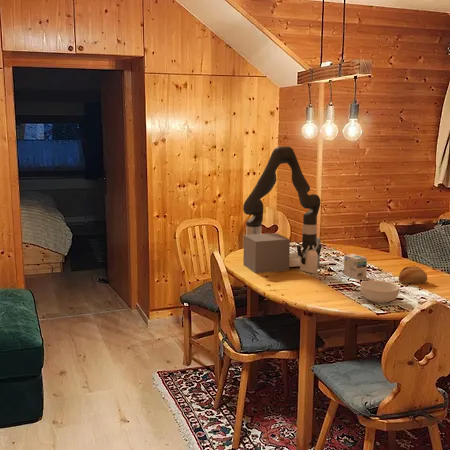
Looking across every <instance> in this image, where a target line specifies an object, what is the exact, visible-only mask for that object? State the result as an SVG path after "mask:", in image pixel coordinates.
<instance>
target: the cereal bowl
mask: <svg viewBox="0 0 450 450" xmlns="http://www.w3.org/2000/svg"><path fill="white" fill-rule="evenodd" d="M359 288H360V294H361V295H362V296H363V297H364V298H365V299H367V300H369V301H370V302H372V303H375V304H386V303H389V302H393V301H394V300H396V299H397V298H398V296H399V293H400V286H399V285H397V284H395V283H392V282H389V281H385V280H375V279H374V280H365V281H362V282H361V283H360V286H359Z"/></svg>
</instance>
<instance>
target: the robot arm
mask: <svg viewBox="0 0 450 450" xmlns="http://www.w3.org/2000/svg"><path fill="white" fill-rule="evenodd" d="M282 164H283V165H285V164H287V165H288V166H289V168H290V170H291V183H292V185H293V187H294V189H295V190H296V192H297V196H298V199H299V204H300V205H301V207H302V208H303V209H306V210H307V209H308V210H307V212H305V213H303V217H302V223H303V224H302V230H301V231H302V236H301V237H302V238H301V241H302V242H301V244H297V245H296V252H298V256H300V257H301V262H302V264H305V256H306V254H307V252H308V251H309V250H314V251H315V247H316V246H317V249H316V252H317V254H318V255H320V256H321V251H322V244H321V243H320V244H319V243H318V244H317V243H316V241H317V238H318V236H317V235H318V224H317V222H318V219H317V218H318V214H319V211H320V207H321V198H320V196H319V195H318V194H314V193H313V194H308V193H309V192H310V190H311V186H310V185H309V183H308V181H307V180H306V178H305V175H304V174H303V172H302V169H301V166H300V163H299V161H298V158H297V155H296V153H295V150H294V149H293V148H292V147H291V146H290V145H289V146H287V145H286V146H277V147H275V148H274V149H273V150H272V152H271V154H270V157H269V159H268V162H267V164H266V166H265V168H264V170H263V172H262V174H261V175H260V177H259V178H258V180H257V183H256V184H255V186H254V188H253V189H252V191H251V192H250V194H249V196H248V197H247V198H246V199H245V201H244V203H243V206H242V209H243V210H242V211H243V213H244V214H245V215H247V216H251V218H249V219H248V220H247V219H246V223H245V224H246V225H245V235H252V234H262V228H263V227H262V224H263V221H264V220H263V219H264V204H263V201H262V200H261V199H263V198H264V197H265V196H267V195H268V194H269V193H270V192H271V191H272V190H273V188H274V187H275V185H276V183H277V173H276V172H277V169H279V166H280V165H282ZM302 249H303V250H302ZM301 250H302V252H301Z"/></svg>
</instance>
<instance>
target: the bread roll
mask: <svg viewBox="0 0 450 450" xmlns="http://www.w3.org/2000/svg"><path fill="white" fill-rule="evenodd" d="M398 281H399V283H401V284H426V283H427V282H428V275H427V273H426V272H425V271H424V269H422V268H421V267H418V266H405V267H404V268H402V270H401V271H400V273H399V275H398Z"/></svg>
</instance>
